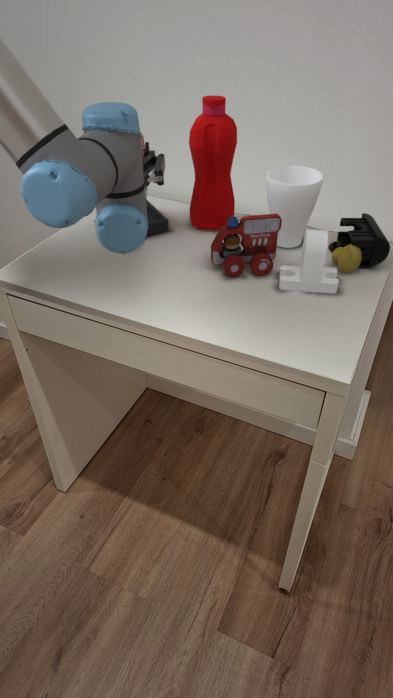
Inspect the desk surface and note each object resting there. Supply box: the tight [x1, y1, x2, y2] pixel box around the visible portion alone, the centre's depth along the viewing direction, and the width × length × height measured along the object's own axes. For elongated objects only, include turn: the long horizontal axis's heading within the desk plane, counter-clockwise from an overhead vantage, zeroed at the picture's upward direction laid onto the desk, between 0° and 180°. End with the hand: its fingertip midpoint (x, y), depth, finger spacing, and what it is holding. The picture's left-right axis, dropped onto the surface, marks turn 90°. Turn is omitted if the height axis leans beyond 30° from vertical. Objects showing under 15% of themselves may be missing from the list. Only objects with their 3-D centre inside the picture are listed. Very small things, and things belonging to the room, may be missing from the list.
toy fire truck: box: [210, 213, 282, 278], centre depth 86 cm, size 7×12×10 cm, turn 96°
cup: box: [265, 164, 324, 249], centre depth 93 cm, size 10×10×14 cm
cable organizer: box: [278, 229, 340, 295], centre depth 82 cm, size 5×10×10 cm, turn 82°
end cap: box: [335, 212, 391, 270], centre depth 90 cm, size 10×7×7 cm
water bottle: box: [188, 94, 238, 232], centre depth 97 cm, size 9×11×25 cm
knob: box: [331, 245, 362, 274], centre depth 88 cm, size 5×5×5 cm
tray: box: [146, 199, 170, 237], centre depth 103 cm, size 11×11×2 cm
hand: (128, 149), depth 98 cm, fingers closed on soda can, 7 cm apart
